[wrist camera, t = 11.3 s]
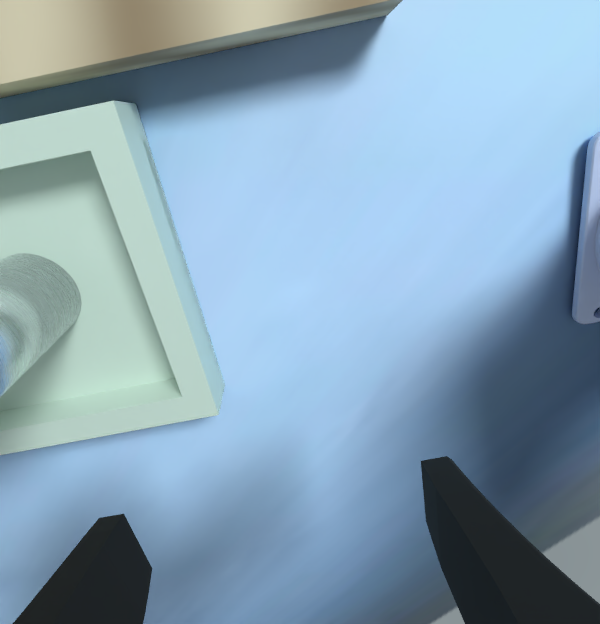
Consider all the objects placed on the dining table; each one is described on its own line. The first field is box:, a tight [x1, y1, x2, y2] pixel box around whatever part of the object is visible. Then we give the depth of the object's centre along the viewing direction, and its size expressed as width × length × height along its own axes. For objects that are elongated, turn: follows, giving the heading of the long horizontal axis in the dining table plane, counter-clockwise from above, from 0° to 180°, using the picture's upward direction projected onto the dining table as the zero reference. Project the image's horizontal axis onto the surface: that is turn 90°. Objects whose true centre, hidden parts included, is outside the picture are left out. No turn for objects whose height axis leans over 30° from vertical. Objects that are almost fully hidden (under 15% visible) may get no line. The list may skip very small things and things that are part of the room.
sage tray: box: [0, 101, 225, 455], centre depth 16 cm, size 12×12×2 cm
